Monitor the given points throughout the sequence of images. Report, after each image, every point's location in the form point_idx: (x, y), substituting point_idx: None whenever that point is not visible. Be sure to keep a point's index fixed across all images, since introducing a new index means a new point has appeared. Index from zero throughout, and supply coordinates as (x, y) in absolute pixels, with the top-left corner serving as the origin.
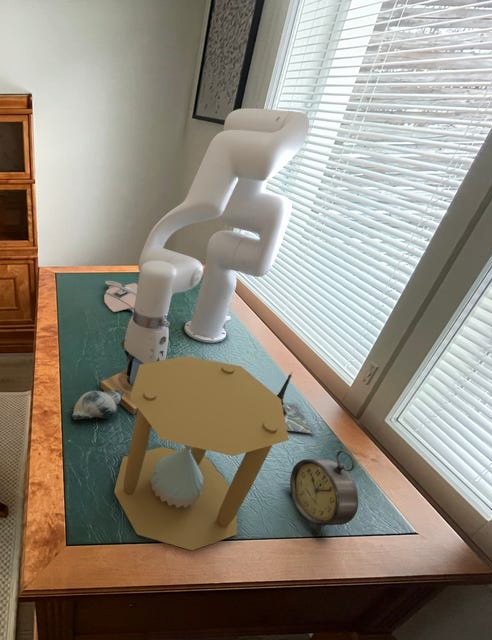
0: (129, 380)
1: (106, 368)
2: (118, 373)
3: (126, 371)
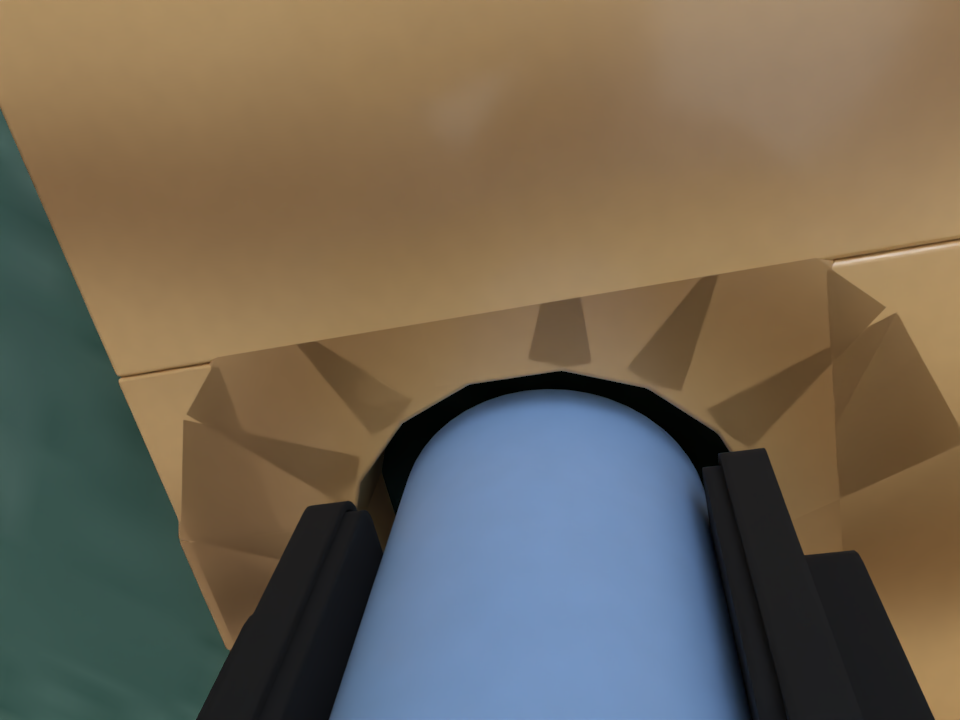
0: (388, 506)
1: (19, 608)
2: None
3: (241, 578)
